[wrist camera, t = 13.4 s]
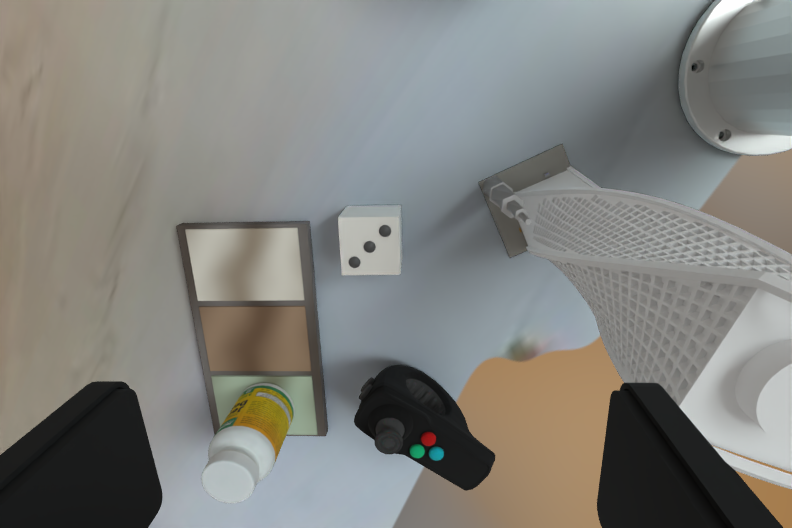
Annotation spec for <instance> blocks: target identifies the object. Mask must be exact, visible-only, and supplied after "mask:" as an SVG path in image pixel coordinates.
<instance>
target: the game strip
mask: <svg viewBox="0 0 792 528" xmlns="http://www.w3.org/2000/svg"><path fill="white" fill-rule="evenodd" d="M177 232H178V237H179V243H180V248H181V253H182V259H183V264H184V270H185V275H186V281H187V286H188V292H189V297H190V303H191V308H192V314H193V319H194V324H195V330H196V335H197V341H198V346H199V352H200V357H201V363H202V368H203V374H204V379H205V384H206V390H207V395H208V401H209V406H210V412H211V417H212V423H213V428H214V434H216V433H217V431H218V430H219V428H220V427H221V425H222V424H223V422H224V421H225V419H226V417H227V416H228V414H229V413H230V411H231V410H232V408H233V407H234V405H235V403H236V402H237V400H238V399H239V397H240V396H241V394H242V393H243V392H244V390H246V389H247V388H248V387H250V386H252V385H255V384H259V383H270V384H274V385H277V386H279V387H281V388H282V389H284V390H285V391H286V392H287V393H288V394H289V396H290V397H291V399H292V401H293V404H294V411H295V412H294V417H293V420H292V422H291V425H290V427H289V429H288V432H287V434H286V436H326V434H327V431H328V424H327V413H326V402H325V390H324V379H323V368H322V356H321V345H320V334H319V322H318V311H317V300H316V288H315V277H314V266H313V254H312V243H311V232H310V221H290V222H224V223H182V224H179V225H177Z"/></svg>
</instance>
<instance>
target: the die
mask: <svg viewBox="0 0 792 528" xmlns="http://www.w3.org/2000/svg"><path fill="white" fill-rule="evenodd" d="M338 228H339V242H340V257H341V272H342V275H400V274H401V265H402V218H401V205H368V206H347V207H346V208H345V209H344V210H343V212H342V213H341V214H340V216H339V217H338Z"/></svg>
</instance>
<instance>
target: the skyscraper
mask: <svg viewBox="0 0 792 528" xmlns="http://www.w3.org/2000/svg"><path fill="white" fill-rule="evenodd" d="M478 183H479V185H480V188H481V190H482V192H483V195H484V197H485V199H486V202H487V204H488V207H489V209H490V211H491V214H492V216H493V219H494V221H495V223H496V226H497V228H498V230H499V233H500V235H501V238H502V240H503V242H504V245H505V247H506V249H507V252H508V254H509V257H510V258H511V257H513V256H516V255H518V254H520V253H523V252H525V251H529V253H531V254H532V255H535V256H538V257H541V258H545V259H548V260H549V261H551V262H552V263H553V264H554V265H555V266H557V267H558V268H559V269H560V270H561V271H562V272H563V273H564V274H565V275H566V276H567V277H568V278H569V280H570V281H571V282H572V283H573V284H574V286H575V287H576V288H577V289H578V291H579V292H580V293H581V295H582V296H583V298H584V299H585V301H586V302H587V304H588V305H589V307H590V309H591V310H592V312H593V314H594V315H595V317H596V321H597V325H598V329H599V332H600V335H601V338H602V340H603V343H604V345H605V348H606V350H607V352H608V354H609V356H610V358H611V360H612V362H613V364H614V365H615V368H616V370H617V372H618V374H619V375H620V377H621V378H622V380H623V381H624V383H658V384H660V385H661V386H662V387H663V388H664V390H665V391H666V392H667V393H668V394H669V395H670V397H671V398H672V399H673V400H674V401H675V403H676V404H677V405H678V406H679V407H680V409H681V410H682V411H683V412H684V413H685V414H686V416H687V417H688V418H689V419H690V420H691V422H692V423H693V424H694V425H695V426H696V428H697V429H698V430H699V431H700V432H701V433H702V435H703V436H704V437H705V438H706V439H707V441H708V442H709V443H710V444H711V445H713V446H716V447H719V448H722V449H725V450H729V451H731V452H734V453H737V454H740V455H743V456H746V457H749V458H752V459H755V460H758V461H761V462H764V463H767V464H769V465H772V466H776V467H779V468H781V469H784V470H787V471H790V472H792V255H791V254H790V253H788V252H786V251H784V250H783V249H781V248H779V247H777V246H775V245H773V244H771V243H769V242H767V241H765V240H763V239H761V238H759V237H757V236H755V235H753V234H751V233H749V232H746V231H745V230H743V229H741V228H739V227H736V226H734V225H732V224H729V223H727V222H725V221H723V220H720V219H718V218H716V217H714V216H711V215H709V214H706V213H704V212H701V211H698V210H696V209H693V208H690V207H687V206H685V205H682V204H679V203H676V202H672V201H669V200H665V199H662V198H658V197H654V196H650V195H645V194H640V193H635V192H630V191H623V190H616V189H606V188H601V187H599V186H598V185H597V184H595V183H594V182H592V181H591V180H590V179H588V178H587V177H585V176H584V175H583V174H581V173H580V172H579V171H577V170H576V169H574V168H573V167H572V166H570V163H569V161H568V158H567V155H566V152H565V149H564V147H563V144H561V145H558V146H556V147H554V148H552V149H550V150H547V151H545V152H543V153H541V154H539V155H537V156H534V157H532V158H530V159H528V160H526V161H523V162H521V163H519V164H517V165H515V166H513V167H510V168H508V169H506V170H504V171H502V172H499V173H497V174H495V175H493V176H491V177H489V178H486V179H484V180H482V181H480V182H478ZM713 446H712V447H713ZM716 447H713V448H714V449H715V450H716V451H717V452H718V454H719V455H720V456H721V457H722V458H723V460H724V461H725V462H726V463H727V464H729V465H730V466H731V467H732V468H733V469H734V470H735V471H738V472H741V473H744V474H746V475H749V476H752V477H755V478H757V479H761V480H764V481H767V482H770V483H773V484H776V485H779V486H782V487H786V488H789V489H792V475H791V474H787V473H784V472H782V471H779V470H776V469H773V468H770V467H767V466H764V465H761V464H758V463H755V462H752V461H750V460H747V459H744V458H742V457H739V456H736V455H734V454H731V453H728V452H726V451H723V450H721V449H718V448H716Z"/></svg>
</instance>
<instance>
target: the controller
mask: <svg viewBox="0 0 792 528" xmlns="http://www.w3.org/2000/svg"><path fill="white" fill-rule="evenodd" d="M361 392H362V393H361V394H360V396H359V399H360V400H362V401H361V403H360V406H359V409H358V411H357V413H356V415H355V419H354V423H355V425H356V426H357V427H358V428H359V429H360V430H361V431H362V432H364V433H365V434H367V435H368V436H369V437H371V438H372V439H374V440H375V446H376V448H377V449H378V450H379V451H380V452H382V453H384V454H394V453H395V454H403V455H406V456H407V457H409V458H411V459H413V460H414V461H416V462H418V463H419V464H421V465H423V466H424V467H426V468H428V469H430V470H431V471H433V472H435V473H436V474H438V475H440V476H441V477H443V478H445V479H447V480H448V481H450V482H452V483H453V484H455V485H457V486H459V487H460V488H462V489H464V490H471V489H473V488H475V487H476V486H478V485H479V484H480V483H481V482H482V481H483V480H484V479H485V478H486V477H487V476H488V475H489V473H490V471H491V467H492V465H493V463H494V461H495V454H494V453H493V452H492V451H491V450H489V449H488V448H487V447H485V446H484V445H483V444H482V443H480V442H479V441H478V440H477V439H476V438H474V437H473V436H472V434H471V433H470V432H469V430H468V427H467V423H466V420H465V417H464V416H463V414H462V412H461V410H460V408H459V407H458V405H457V404H456V402H455V401H454V400H453V399H452V397H451V396H450V395H449V394H448V393H447V392H446V391H445V390H444V389H443V388H442V387H441V386H440V385H439V384H438V383H437V382H436V381H435V380H433V379H432V378H431V377H429V376H428V375H426V374H425V373H423V372H421V371H419V370H417V369H415V368H412V367H408V366H404V365H393V366H390V367H387V368H385V369H384V370H382V371H381V372H380V373H379V374H378V375H377V376H376V378H375V379H373V378H370V379H369V380H368V381H367V382H366V383H365V385H364V386H363V387H362V389H361Z"/></svg>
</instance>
